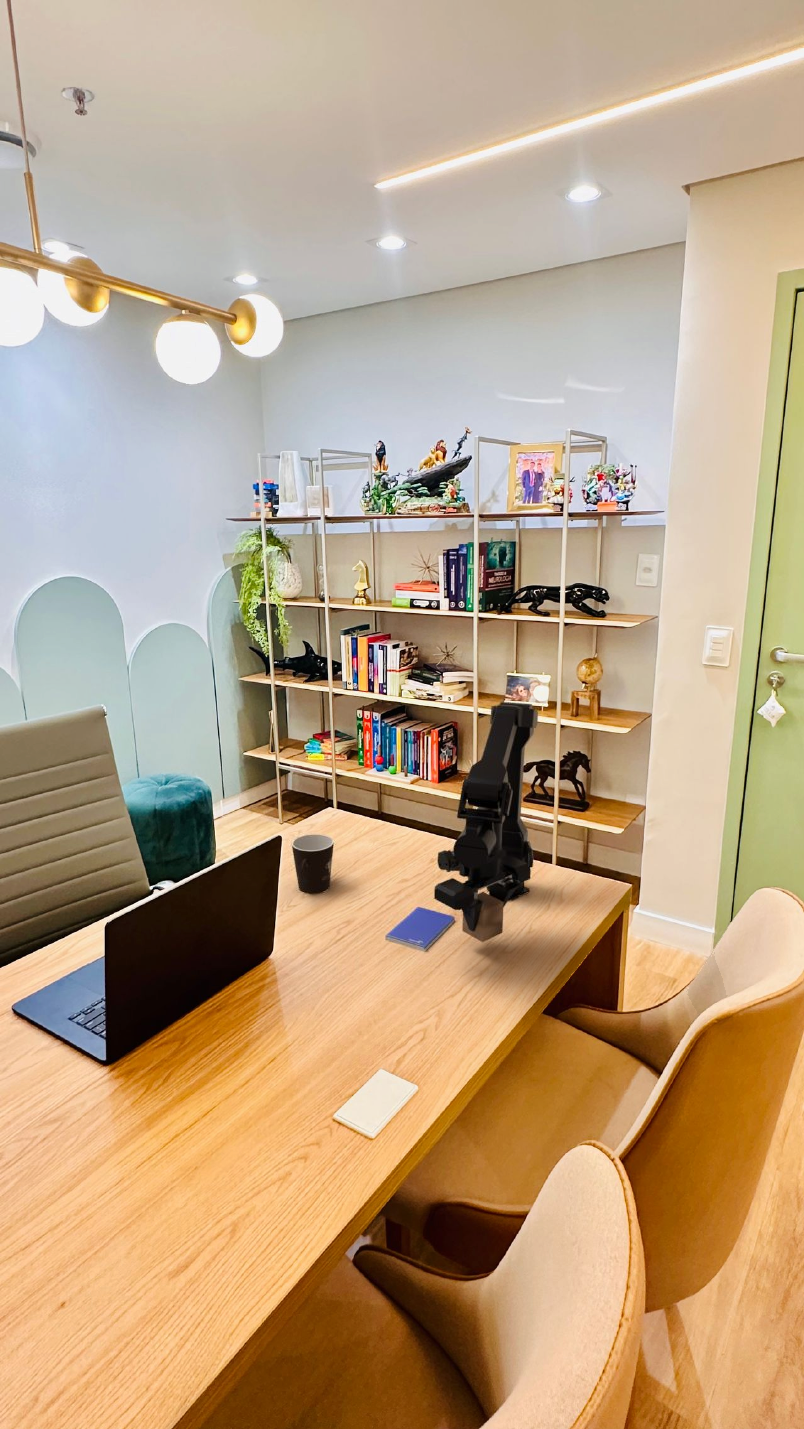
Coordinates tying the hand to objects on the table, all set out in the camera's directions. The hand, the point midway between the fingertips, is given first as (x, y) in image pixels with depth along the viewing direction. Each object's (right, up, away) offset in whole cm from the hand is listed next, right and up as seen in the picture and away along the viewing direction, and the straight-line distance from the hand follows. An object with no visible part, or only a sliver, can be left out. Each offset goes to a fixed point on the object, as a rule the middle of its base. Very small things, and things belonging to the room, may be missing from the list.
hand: (482, 925), depth 137 cm
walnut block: (0, -1, 0) cm, 1 cm away
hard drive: (-11, -4, +8) cm, 14 cm away
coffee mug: (-34, +1, +23) cm, 41 cm away
